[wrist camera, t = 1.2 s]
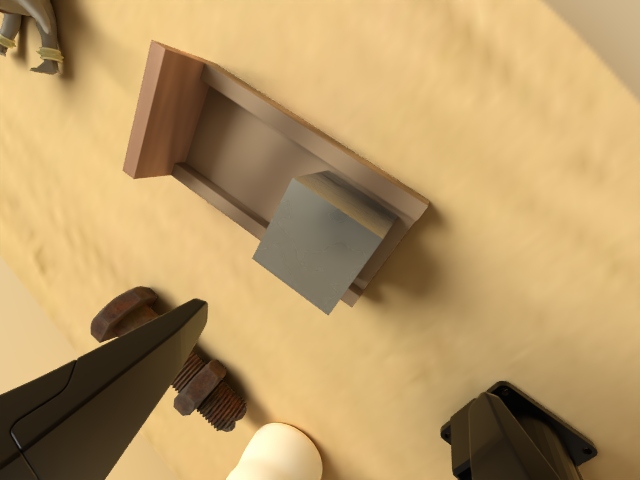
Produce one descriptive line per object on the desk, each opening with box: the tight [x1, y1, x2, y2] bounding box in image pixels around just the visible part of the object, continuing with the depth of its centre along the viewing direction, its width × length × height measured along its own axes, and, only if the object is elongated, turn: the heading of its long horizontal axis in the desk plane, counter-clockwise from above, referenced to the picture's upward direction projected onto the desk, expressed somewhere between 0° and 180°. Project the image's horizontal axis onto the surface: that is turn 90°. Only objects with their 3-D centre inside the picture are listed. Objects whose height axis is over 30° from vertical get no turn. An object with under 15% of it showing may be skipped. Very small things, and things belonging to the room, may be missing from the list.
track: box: [123, 40, 429, 307], centre depth 19 cm, size 17×8×5 cm, turn 60°
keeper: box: [252, 170, 398, 315], centre depth 17 cm, size 5×5×5 cm
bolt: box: [91, 286, 247, 432], centre depth 28 cm, size 6×5×15 cm
